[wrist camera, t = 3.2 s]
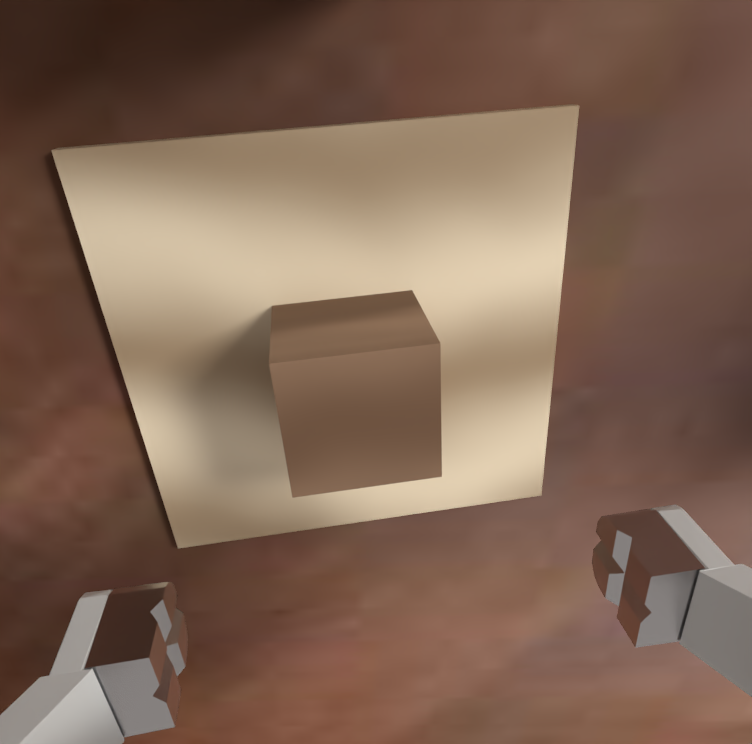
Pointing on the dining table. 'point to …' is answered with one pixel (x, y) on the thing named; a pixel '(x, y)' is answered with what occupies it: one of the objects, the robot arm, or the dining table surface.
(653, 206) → the dining table surface
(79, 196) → the lid
